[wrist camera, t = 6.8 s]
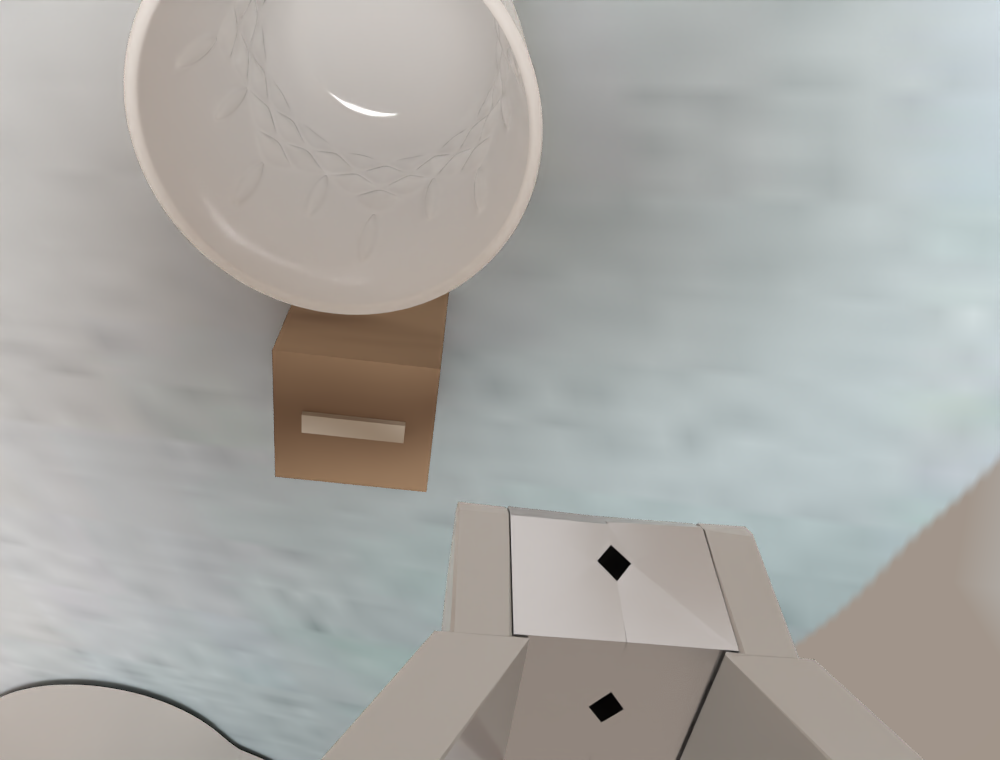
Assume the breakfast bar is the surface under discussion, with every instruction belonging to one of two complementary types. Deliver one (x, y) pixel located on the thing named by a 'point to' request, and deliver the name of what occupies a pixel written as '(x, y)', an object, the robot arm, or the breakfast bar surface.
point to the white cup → (337, 140)
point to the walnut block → (358, 395)
